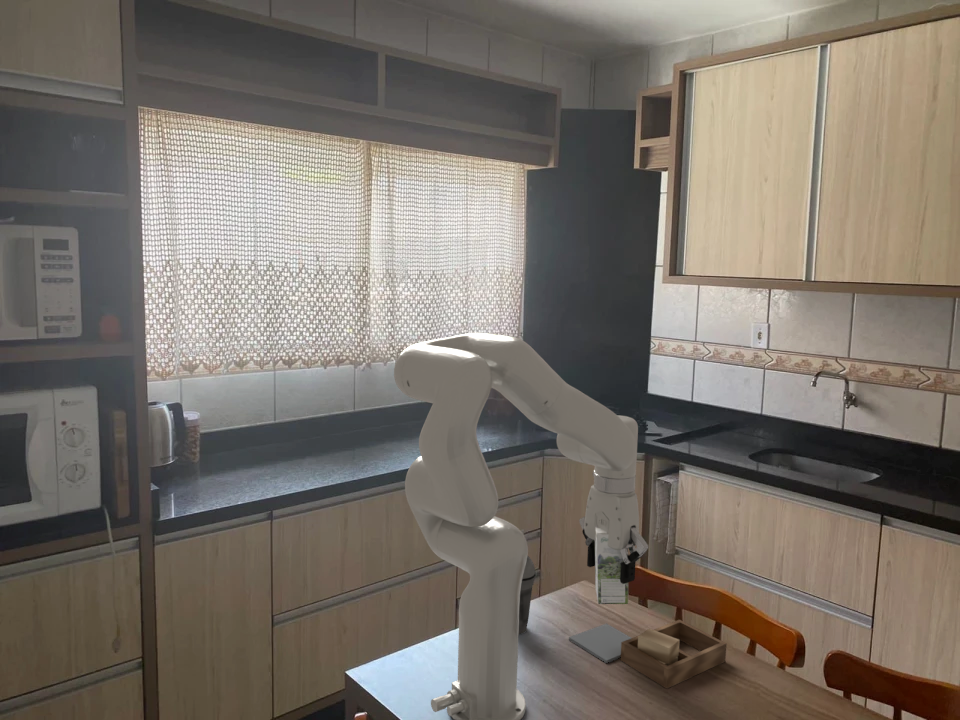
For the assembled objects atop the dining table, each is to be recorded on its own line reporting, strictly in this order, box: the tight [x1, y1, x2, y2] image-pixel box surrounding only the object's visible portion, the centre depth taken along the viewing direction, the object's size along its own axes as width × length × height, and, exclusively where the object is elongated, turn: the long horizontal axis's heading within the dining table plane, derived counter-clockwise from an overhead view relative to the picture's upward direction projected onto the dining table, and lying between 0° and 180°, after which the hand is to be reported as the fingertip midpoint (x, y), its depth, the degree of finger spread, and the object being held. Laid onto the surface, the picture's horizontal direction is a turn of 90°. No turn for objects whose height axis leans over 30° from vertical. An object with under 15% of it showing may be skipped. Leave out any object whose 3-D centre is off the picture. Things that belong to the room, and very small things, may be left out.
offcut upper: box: [637, 628, 681, 664], centre depth 132 cm, size 4×6×3 cm, turn 49°
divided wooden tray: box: [619, 619, 727, 689], centre depth 135 cm, size 16×11×4 cm
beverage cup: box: [518, 529, 536, 635], centre depth 144 cm, size 7×7×20 cm
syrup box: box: [594, 527, 629, 605], centre depth 139 cm, size 6×6×14 cm
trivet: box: [568, 623, 632, 664], centre depth 141 cm, size 10×10×1 cm
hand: (610, 572), depth 139 cm, fingers closed on syrup box, 8 cm apart
